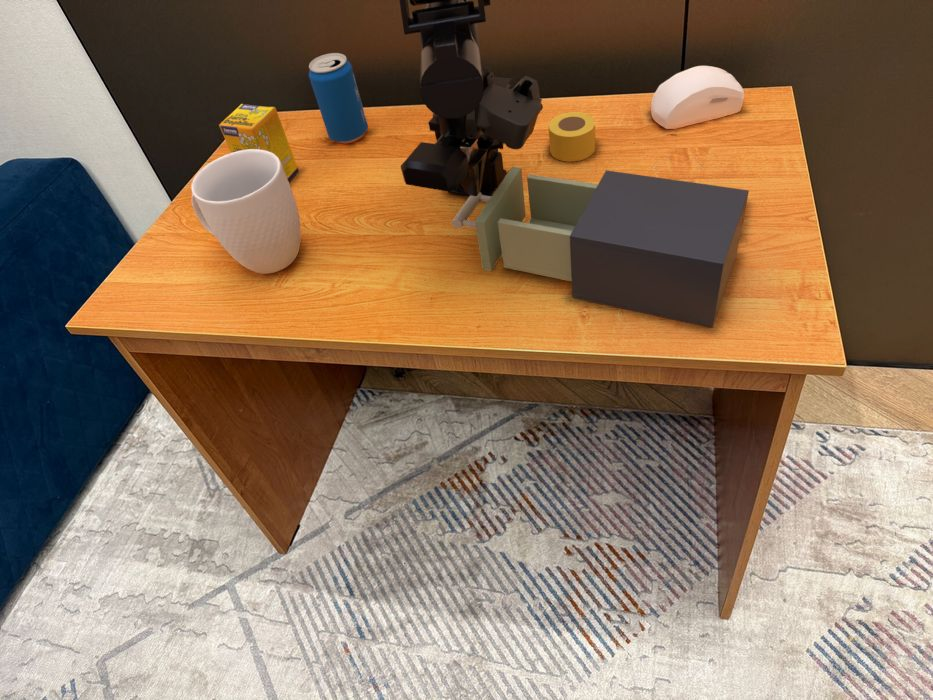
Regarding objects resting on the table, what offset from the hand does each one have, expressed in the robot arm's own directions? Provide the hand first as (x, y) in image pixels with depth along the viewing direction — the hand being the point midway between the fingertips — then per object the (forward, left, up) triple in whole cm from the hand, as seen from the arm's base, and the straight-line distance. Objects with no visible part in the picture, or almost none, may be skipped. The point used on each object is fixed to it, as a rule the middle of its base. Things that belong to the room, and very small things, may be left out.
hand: (474, 194), depth 82 cm
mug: (-27, -10, -8) cm, 30 cm away
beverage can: (-32, +19, -8) cm, 38 cm away
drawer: (+7, 0, -7) cm, 10 cm away
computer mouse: (+18, +36, -8) cm, 41 cm away
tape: (+4, +23, -8) cm, 24 cm away
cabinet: (+22, 0, -8) cm, 23 cm away
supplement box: (-37, +5, -8) cm, 38 cm away
